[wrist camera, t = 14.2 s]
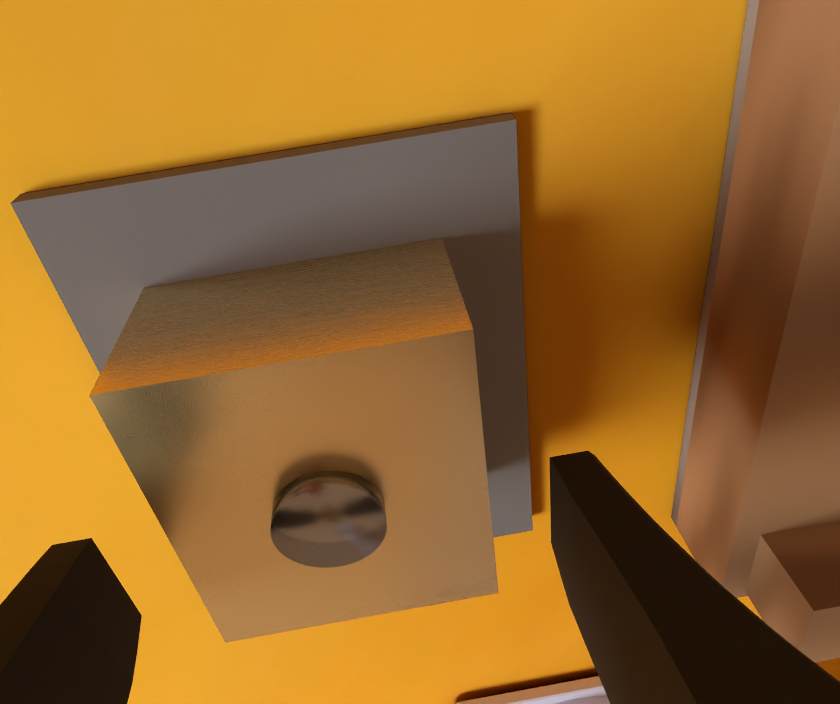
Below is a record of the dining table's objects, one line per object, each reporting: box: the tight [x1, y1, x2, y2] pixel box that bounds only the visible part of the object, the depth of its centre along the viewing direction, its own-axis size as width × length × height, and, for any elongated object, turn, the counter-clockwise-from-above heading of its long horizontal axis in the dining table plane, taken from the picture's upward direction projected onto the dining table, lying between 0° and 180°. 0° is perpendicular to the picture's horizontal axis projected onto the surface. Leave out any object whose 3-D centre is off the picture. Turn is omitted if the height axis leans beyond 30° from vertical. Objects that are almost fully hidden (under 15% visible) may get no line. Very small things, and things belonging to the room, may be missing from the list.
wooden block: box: [90, 237, 498, 642], centre depth 11 cm, size 6×5×3 cm
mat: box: [11, 113, 533, 537], centre depth 13 cm, size 10×8×1 cm
